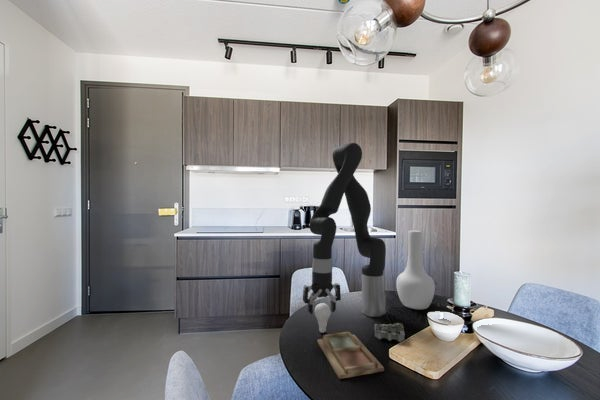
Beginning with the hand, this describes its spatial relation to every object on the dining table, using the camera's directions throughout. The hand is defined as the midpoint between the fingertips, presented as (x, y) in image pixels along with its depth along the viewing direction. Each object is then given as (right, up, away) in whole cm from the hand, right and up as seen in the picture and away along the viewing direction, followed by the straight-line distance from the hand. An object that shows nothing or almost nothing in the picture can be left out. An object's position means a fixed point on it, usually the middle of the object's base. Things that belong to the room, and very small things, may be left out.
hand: (321, 312), depth 102 cm
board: (+7, -8, -15) cm, 18 cm away
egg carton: (+25, -8, -2) cm, 26 cm away
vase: (+46, -7, +26) cm, 54 cm away
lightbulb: (0, -8, 0) cm, 8 cm away
